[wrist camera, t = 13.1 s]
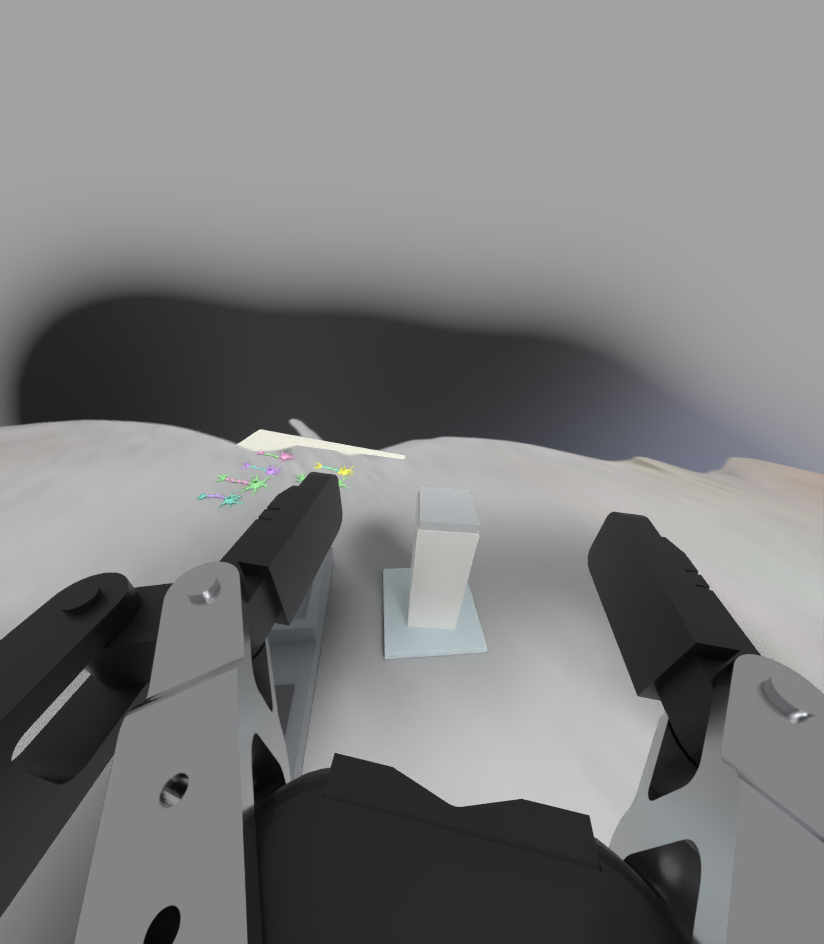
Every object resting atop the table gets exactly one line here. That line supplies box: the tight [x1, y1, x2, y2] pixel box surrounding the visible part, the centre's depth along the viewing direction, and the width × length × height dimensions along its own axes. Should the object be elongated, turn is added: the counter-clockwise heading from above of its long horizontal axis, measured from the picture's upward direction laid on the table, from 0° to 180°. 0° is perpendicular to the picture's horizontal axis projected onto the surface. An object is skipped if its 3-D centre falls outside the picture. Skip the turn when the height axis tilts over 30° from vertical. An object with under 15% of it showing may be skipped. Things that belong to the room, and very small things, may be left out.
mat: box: [383, 568, 488, 659], centre depth 30 cm, size 9×9×1 cm
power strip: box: [268, 547, 334, 781], centre depth 20 cm, size 8×30×4 cm, turn 6°
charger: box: [407, 486, 480, 629], centre depth 26 cm, size 4×4×13 cm
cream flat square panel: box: [197, 430, 406, 508], centre depth 45 cm, size 30×30×2 cm
